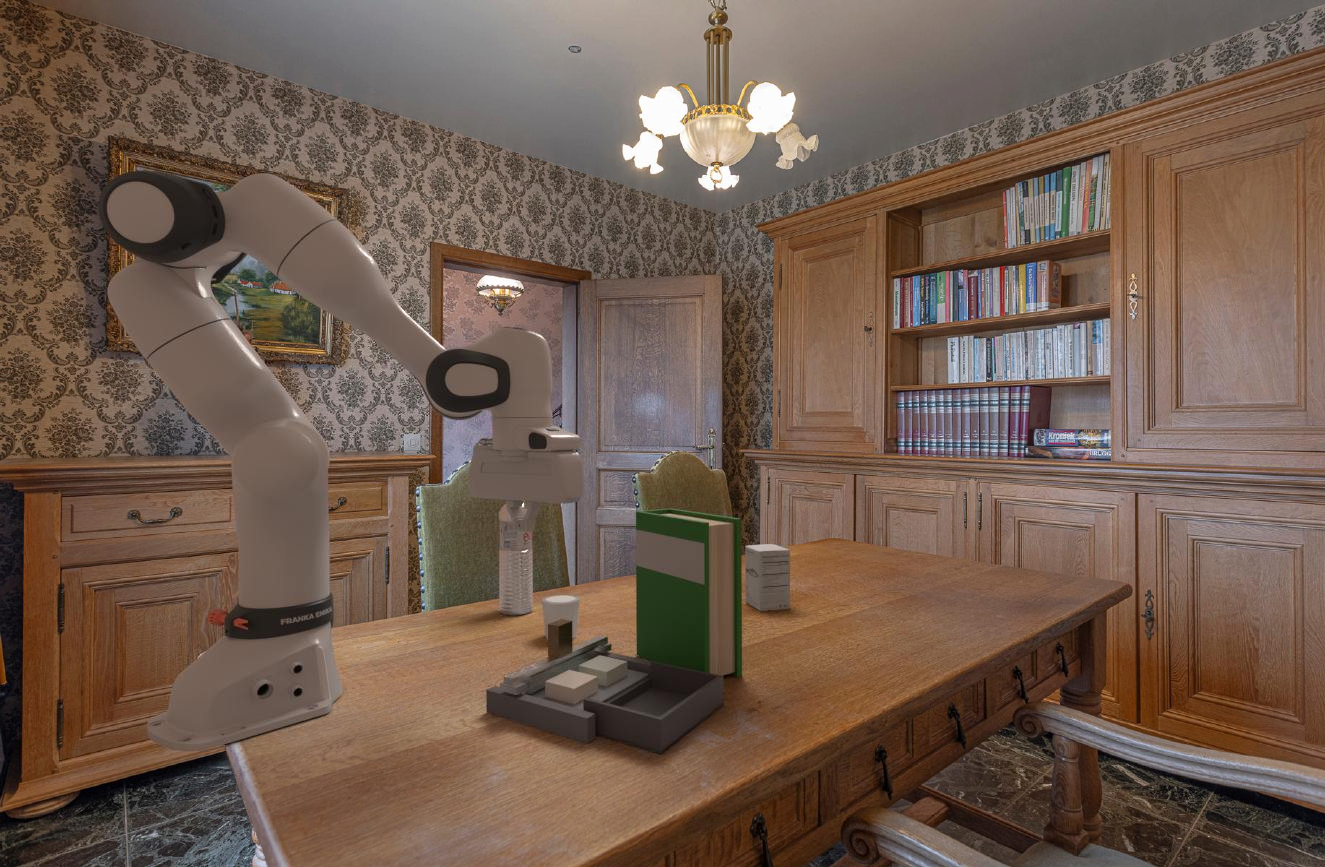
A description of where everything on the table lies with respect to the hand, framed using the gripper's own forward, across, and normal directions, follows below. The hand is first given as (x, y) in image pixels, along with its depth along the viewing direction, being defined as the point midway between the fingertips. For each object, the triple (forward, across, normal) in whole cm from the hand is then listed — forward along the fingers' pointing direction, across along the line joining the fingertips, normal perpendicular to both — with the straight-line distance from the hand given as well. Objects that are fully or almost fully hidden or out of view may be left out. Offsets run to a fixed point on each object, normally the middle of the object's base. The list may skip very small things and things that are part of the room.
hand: (523, 530), depth 98 cm
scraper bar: (+20, +7, 0) cm, 21 cm away
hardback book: (+23, +17, +19) cm, 34 cm away
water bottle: (+23, -29, +28) cm, 46 cm away
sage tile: (+21, +12, +3) cm, 24 cm away
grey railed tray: (+23, +11, 0) cm, 25 cm away
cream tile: (+21, +12, -4) cm, 24 cm away
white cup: (+23, -10, +20) cm, 32 cm away
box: (+23, +23, 0) cm, 32 cm away
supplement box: (+23, +14, +59) cm, 65 cm away
